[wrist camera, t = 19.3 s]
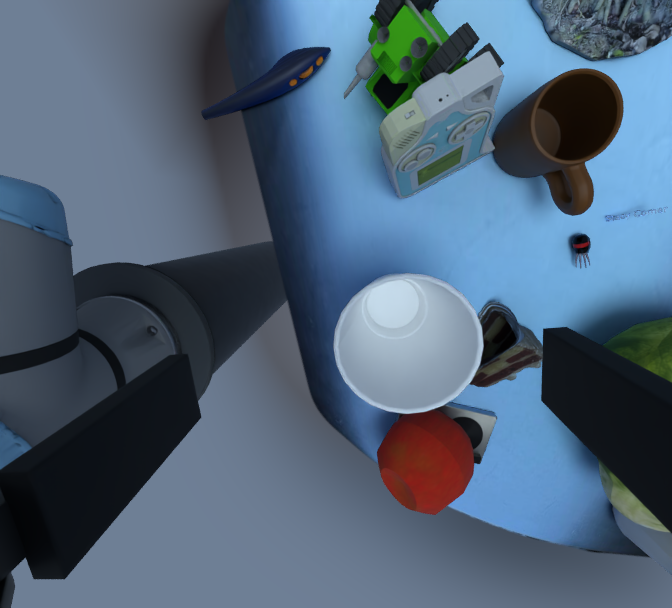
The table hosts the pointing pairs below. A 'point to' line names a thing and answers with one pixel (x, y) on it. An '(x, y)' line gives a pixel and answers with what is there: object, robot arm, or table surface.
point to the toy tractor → (411, 51)
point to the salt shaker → (648, 540)
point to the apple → (426, 461)
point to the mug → (561, 134)
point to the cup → (408, 343)
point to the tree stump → (606, 25)
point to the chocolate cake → (504, 346)
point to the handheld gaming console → (441, 126)
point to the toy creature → (583, 241)
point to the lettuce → (662, 359)
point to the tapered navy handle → (273, 81)
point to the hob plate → (470, 425)
